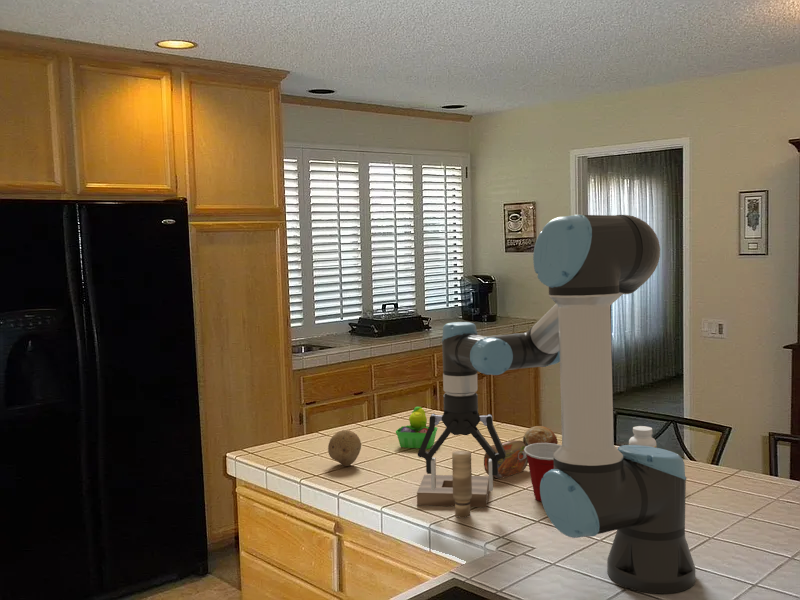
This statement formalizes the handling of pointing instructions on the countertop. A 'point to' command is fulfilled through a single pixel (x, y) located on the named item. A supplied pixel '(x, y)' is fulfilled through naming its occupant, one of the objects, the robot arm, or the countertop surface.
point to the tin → (509, 459)
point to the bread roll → (539, 436)
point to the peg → (462, 482)
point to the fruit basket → (415, 431)
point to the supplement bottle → (642, 437)
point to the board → (451, 491)
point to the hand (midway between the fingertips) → (462, 488)
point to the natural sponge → (344, 447)
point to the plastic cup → (540, 463)
